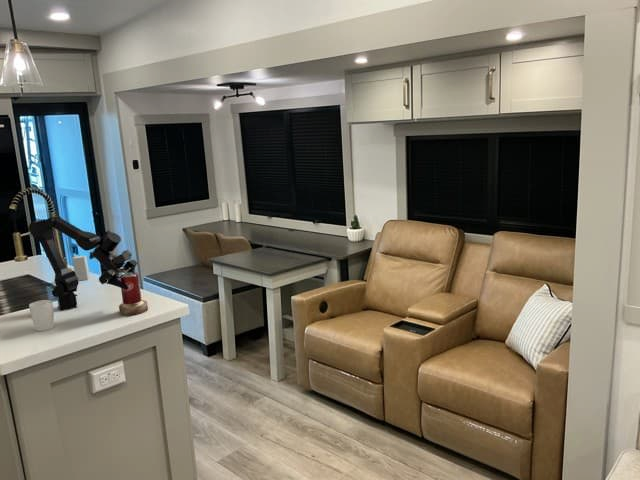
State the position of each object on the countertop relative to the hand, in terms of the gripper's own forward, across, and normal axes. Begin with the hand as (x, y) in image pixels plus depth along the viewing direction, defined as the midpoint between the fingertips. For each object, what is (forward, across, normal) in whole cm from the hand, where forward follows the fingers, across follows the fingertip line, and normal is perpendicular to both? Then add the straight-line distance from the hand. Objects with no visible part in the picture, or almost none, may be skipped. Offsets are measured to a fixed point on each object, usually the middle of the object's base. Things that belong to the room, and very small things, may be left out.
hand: (133, 286), depth 214 cm
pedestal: (+7, 0, +8) cm, 11 cm away
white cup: (-10, -22, +26) cm, 36 cm away
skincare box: (-34, +40, +51) cm, 73 cm away
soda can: (+4, 0, +6) cm, 8 cm away
